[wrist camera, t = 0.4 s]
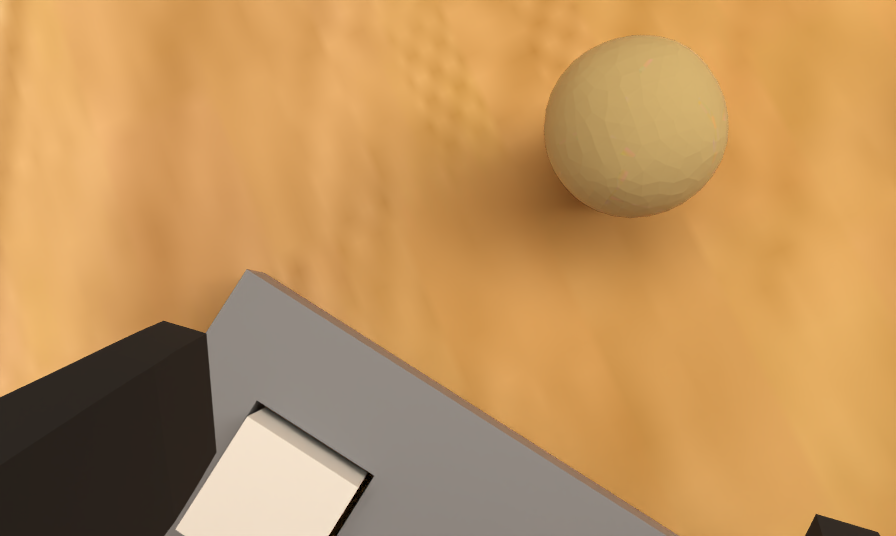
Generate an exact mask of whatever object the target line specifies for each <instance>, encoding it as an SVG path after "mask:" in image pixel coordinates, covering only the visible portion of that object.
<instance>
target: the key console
mask: <svg viewBox="0 0 896 536" xmlns="http://www.w3.org/2000/svg"><path fill="white" fill-rule="evenodd" d="M206 334H207V345H208V356H209V368H210V380H211V392H212V404H213V415H214V427H215V439H216V451H217V453H216V454H215V456H214V458H213V460H212V461H211V463H210V465H209V466H208V468H207V470H206V472H205V473H204V475H203V477H202V479H201V480H200V482H199V484H198V485H197V487H196V489H195V491H194V492H193V494H192V495H191V497H190V499H189V500H188V502H187V503H186V505H185V507H184V508H183V510H182V511H181V513H180V515H179V516H178V518H177V519H176V521H175V523H174V524H173V525H172V527H171V528H170V529H169V530H168V532H167V533H166V534H165V536H184V535H183V534H181V533H180V532H178V531H177V530H175V529H176V528H177V526H178V525H179V523H180V521H181V520H182V518H183V517H184V515H185V514H186V512H187V510H188V509H189V507H190V506H191V504H192V503H193V501H194V499H195V498H196V496H197V495H198V493H199V492H200V490H201V488H202V487H203V485H204V484H205V482H206V481H207V479H208V477H209V476H210V474H211V473H212V471H213V470H214V468H215V466H216V465H217V463H218V462H219V460H220V459H221V457H222V455H223V454H224V452H225V451H226V449H227V448H228V446H229V444H230V443H231V441H232V440H233V438H234V436H235V435H236V433H237V432H238V430H239V429H240V427H241V425H242V424H243V422H244V421H245V419H246V418H247V416H249V415H251V414H253V413H255V412H257V411H259V410H261V409H264V408H265V406H267V407H268V408H270V409H271V410H273V411H274V412H276V413H277V414H279V415H281V416H282V417H284V418H285V419H287V420H288V421H290V422H291V423H293V424H295V425H296V426H298V427H299V428H301V429H302V430H304V431H305V432H307V433H309V434H310V435H312V436H313V437H315V438H316V439H318V440H319V441H321V442H323V443H324V444H326V445H327V446H329V447H330V448H332V449H333V450H335V451H337V452H338V453H340V454H341V455H343V456H344V457H346V458H347V459H349V460H351V461H352V462H354V463H355V464H357V465H358V466H360V467H361V468H363V469H365V470H366V471H368V472H369V473H371V474H372V475H373V477H372V479H371V480H370V482H369V483H368V485H367V487H366V488H365V490H364V491H363V493H362V495H361V496H360V498H359V499H358V501H357V502H356V504H355V506H354V507H353V509H352V510H351V512H350V514H349V515H348V517H347V518H346V520H345V522H344V523H343V525H342V526H341V528H340V530H339V531H338V533H337V534H336V536H678V535H677V534H675V533H673V532H672V531H670V530H669V529H667V528H666V527H664V526H662V525H661V524H659V523H658V522H656V521H655V520H653V519H651V518H650V517H648V516H647V515H645V514H644V513H642V512H640V511H639V510H637V509H636V508H634V507H633V506H631V505H629V504H628V503H626V502H625V501H623V500H621V499H620V498H618V497H617V496H615V495H614V494H612V493H610V492H609V491H607V490H606V489H604V488H603V487H601V486H599V485H598V484H596V483H595V482H593V481H592V480H590V479H588V478H587V477H585V476H584V475H582V474H580V473H579V472H577V471H576V470H574V469H573V468H571V467H569V466H568V465H566V464H565V463H563V462H562V461H560V460H558V459H557V458H555V457H554V456H552V455H551V454H549V453H547V452H546V451H544V450H543V449H541V448H539V447H538V446H536V445H535V444H533V443H532V442H530V441H528V440H527V439H525V438H524V437H522V436H521V435H519V434H517V433H516V432H514V431H513V430H511V429H510V428H508V427H506V426H505V425H503V424H502V423H500V422H499V421H497V420H495V419H494V418H492V417H491V416H489V415H487V414H486V413H484V412H483V411H481V410H480V409H478V408H476V407H475V406H473V405H472V404H470V403H469V402H467V401H465V400H464V399H462V398H461V397H459V396H458V395H456V394H454V393H453V392H451V391H450V390H448V389H446V388H445V387H443V386H442V385H440V384H439V383H437V382H435V381H434V380H432V379H431V378H429V377H428V376H426V375H424V374H423V373H421V372H420V371H418V370H417V369H415V368H413V367H412V366H410V365H409V364H407V363H405V362H404V361H402V360H401V359H399V358H398V357H396V356H394V355H393V354H391V353H390V352H388V351H387V350H385V349H383V348H382V347H380V346H379V345H377V344H376V343H374V342H372V341H371V340H369V339H368V338H366V337H365V336H363V335H361V334H360V333H358V332H357V331H355V330H353V329H352V328H350V327H349V326H347V325H346V324H344V323H342V322H341V321H339V320H338V319H336V318H335V317H333V316H331V315H330V314H328V313H327V312H325V311H324V310H322V309H320V308H319V307H317V306H316V305H314V304H312V303H311V302H309V301H308V300H306V299H305V298H303V297H301V296H300V295H298V294H297V293H295V292H294V291H292V290H290V289H289V288H287V287H286V286H284V285H283V284H281V283H279V282H278V281H276V280H275V279H273V278H271V277H270V276H268V275H267V274H265V273H262V272H257V271H252V270H248V269H247V270H246V271H245V273H244V275H243V276H242V278H241V279H240V281H239V282H238V284H237V285H236V287H235V289H234V290H233V292H232V293H231V295H230V296H229V298H228V299H227V301H226V303H225V304H224V306H223V307H222V309H221V310H220V312H219V314H218V315H217V317H216V318H215V320H214V321H213V323H212V324H211V326H210V328H209V329H208V331H207V332H206Z"/></svg>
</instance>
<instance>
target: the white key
mask: <svg viewBox="0 0 896 536" xmlns="http://www.w3.org/2000/svg"><path fill="white" fill-rule="evenodd" d="M366 474H367V472H366V471H364V470H363V469H361V468H360V467H358V466H357V465H355V464H354V463H352V462H350V461H349V460H347V459H346V458H344V457H343V456H341V455H340V454H338V453H336V452H335V451H333V450H332V449H330V448H329V447H327V446H326V445H324V444H322V443H321V442H319V441H318V440H316V439H315V438H313V437H312V436H310V435H308V434H307V433H305V432H304V431H302V430H301V429H299V428H298V427H296V426H294V425H293V424H291V423H290V422H288V421H287V420H285V419H284V418H282V417H280V416H279V415H277V414H276V413H274V412H273V411H271V410H270V409H268V408H264V409H261V410H259V411H257V412H255V413H253V414H251V415H249V416H247V418H246V419H245V421H244V422H243V424H242V425H241V427H240V429H239V430H238V432H237V433H236V435H235V436H234V438H233V440H232V441H231V443H230V444H229V446H228V448H227V449H226V451H225V452H224V454H223V455H222V457H221V459H220V460H219V462H218V463H217V465H216V466H215V468H214V470H213V471H212V473H211V474H210V476H209V477H208V479H207V481H206V482H205V484H204V485H203V487H202V488H201V490H200V492H199V493H198V495H197V496H196V498H195V499H194V501H193V503H192V504H191V506H190V507H189V509H188V510H187V512H186V514H185V515H184V517H183V518H182V520H181V521H180V523H179V525H178V526H177V528H176V529H175V530H177V531H178V532H180V533H181V534H183V535H184V536H329V534H330V533H331V531H332V529H333V528H334V526H335V525H336V523H337V521H338V520H339V518H340V517H341V515H342V513H343V512H344V510H345V509H346V507H347V505H348V504H349V502H350V501H351V499H352V497H353V496H354V494H355V493H356V491H357V489H358V488H359V486H360V484H361V483H362V481H363V479H364V478H365V476H366Z"/></svg>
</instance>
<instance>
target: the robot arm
mask: <svg viewBox="0 0 896 536" xmlns="http://www.w3.org/2000/svg"><path fill="white" fill-rule="evenodd" d="M216 453H217V451H216V439H215V427H214V415H213V404H212V392H211V380H210V368H209V356H208V345H207V334H206V333H203V332H200V331H196V330H193V329H189V328H186V327H183V326H179V325H176V324H173V323H169V322H166V321H162V322H160V323H157V324H155V325H153V326H150V327H148V328H146V329H143V330H141V331H139V332H137V333H135V334H133V335H130V336H128V337H126V338H124V339H122V340H120V341H118V342H116V343H113V344H111V345H109V346H107V347H105V348H103V349H101V350H99V351H97V352H95V353H93V354H91V355H88V356H86V357H84V358H82V359H80V360H78V361H76V362H74V363H72V364H70V365H68V366H66V367H64V368H62V369H59V370H57V371H55V372H53V373H51V374H49V375H47V376H45V377H43V378H40V379H38V380H36V381H34V382H32V383H30V384H28V385H26V386H23V387H21V388H19V389H17V390H15V391H13V392H11V393H9V394H7V395H4V396H2V397H0V536H165V534H166V533H167V532H168V530H169V529H170V528H171V527H172V525H173V524H174V523H175V521H176V519H177V518H178V516H179V515H180V513H181V511H182V510H183V508H184V507H185V505H186V503H187V502H188V500H189V499H190V497H191V495H192V494H193V492H194V491H195V489H196V487H197V485H198V484H199V482H200V480H201V479H202V477H203V475H204V473H205V472H206V470H207V468H208V466H209V465H210V463H211V461H212V460H213V458H214V456H215V454H216ZM805 536H880V535H879V533H878V532H875V531H872V530H868V529H865V528H862V527H858V526H855V525H852V524H848V523H845V522H841V521H838V520H835V519H831V518H828V517H825V516H821V515H818V514H816V515H815V517H814V519H813V521H812V523H811V525H810V527H809V529H808V531H807V533H806V535H805Z"/></svg>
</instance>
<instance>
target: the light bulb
mask: <svg viewBox="0 0 896 536" xmlns="http://www.w3.org/2000/svg"><path fill="white" fill-rule="evenodd" d="M544 136H545V147H546V150H547V154H548V158H549V160H550V163H551V165H552V167H553V170H554V172H555V173H556V175H557V176H558V178H559V179H560V181H561V182H562V184H563V185H564V186H565V187H566V188H567V189H568V190H569V191H570V192H571V193H572V195H573V196H574V197H576V198H577V199H578V200H580V201H581V202H583V203H584V204H585V205H587V206H589V207H591V208H593V209H595V210H597V211H599V212H603V213H606V214H609V215H612V216H619V217H628V218H633V217H645V216H651V215H655V214H658V213H662V212H665V211H668V210H670V209H672V208H674V207H676V206H678V205H680V204H682V203H684V202H685V201H687V200H688V199H689V198H691V197H692V196H693V195H695V194H696V193H697V192H698V191H699V190H701V189H702V187H703V186H704V185H705V184H706V183H707V182H708V180H709V179H710V178H711V177H712V176H713V174H714V173H715V171H716V169H717V167H718V165H719V164H720V162H721V160H722V158H723V154H724V151H725V148H726V144H727V140H728V112H727V107H726V103H725V98H724V95H723V93H722V91H721V88H720V86H719V83H718V81H717V79H716V78H715V76H714V75H713V73H712V72H711V70H710V69H709V67H708V66H707V64H706V63H705V62H704V61H703V60H702V59H701V58H700V57H699V56H698V55H697V54H696V53H695V52H694V51H693V50H691V49H690V48H689V47H687V46H685V45H683V44H681V43H679V42H677V41H675V40H671V39H668V38H664V37H660V36H651V35H632V36H627V37H622V38H617V39H613V40H610V41H607V42H604V43H602V44H600V45H598V46H596V47H594V48H592V49H590V50H588V51H587V52H585V53H584V54H583V55H581V56H580V57H579V58H577V59H576V60H575V61H573V62H572V64H571V65H570V66H569V67H568V68H567V69H566V70H565V72H564V73H563V74H562V75H561V76H560V78H559V80H558V81H557V83H556V85H555V87H554V89H553V90H552V92H551V95H550V98H549V101H548V105H547V108H546V114H545V124H544Z"/></svg>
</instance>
